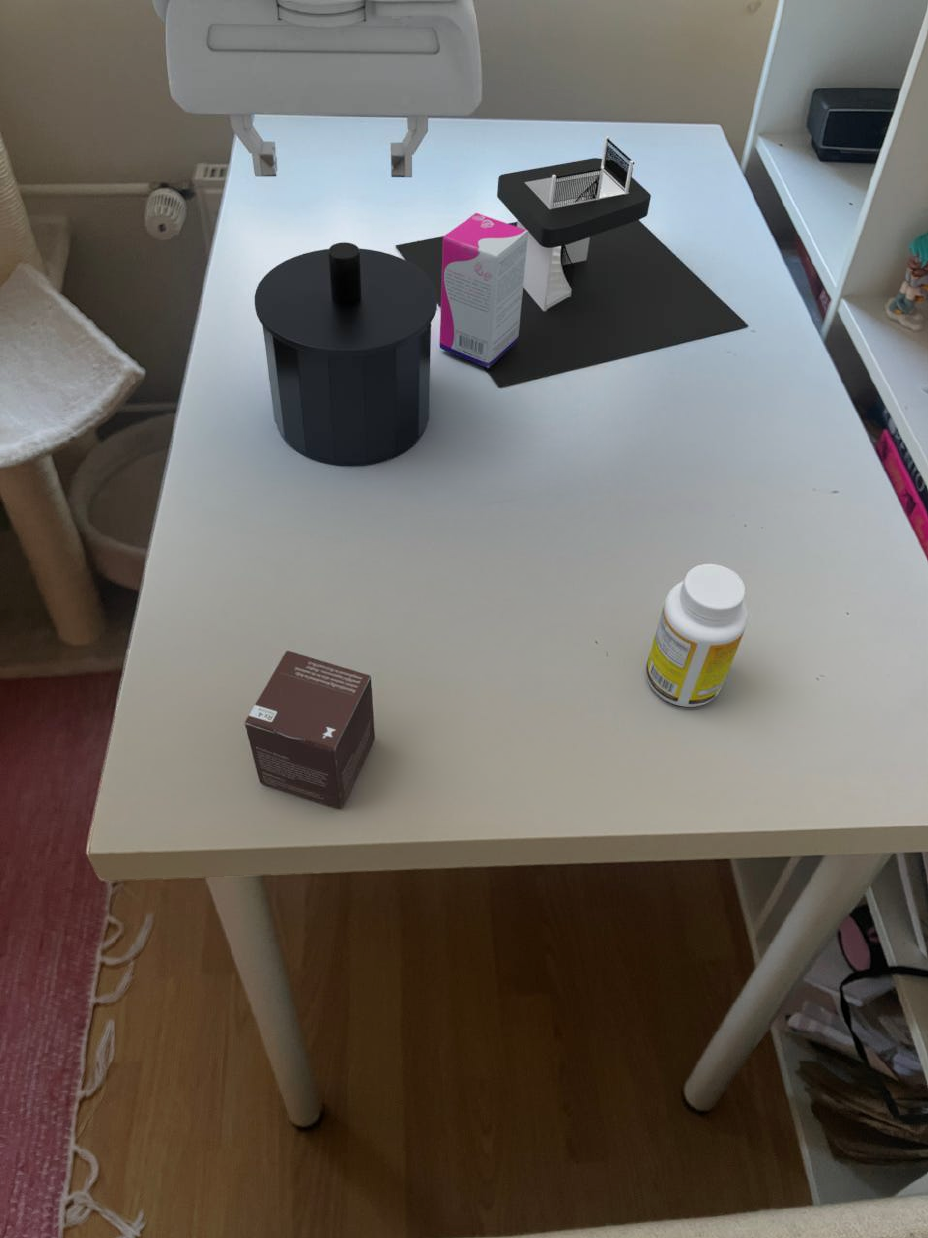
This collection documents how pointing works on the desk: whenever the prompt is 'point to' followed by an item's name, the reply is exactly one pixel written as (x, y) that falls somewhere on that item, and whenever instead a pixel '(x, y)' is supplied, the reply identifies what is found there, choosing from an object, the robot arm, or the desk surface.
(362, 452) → the trash can
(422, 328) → the bin lid
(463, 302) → the supplement box
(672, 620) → the supplement bottle
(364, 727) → the box
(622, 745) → the desk surface
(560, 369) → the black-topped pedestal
